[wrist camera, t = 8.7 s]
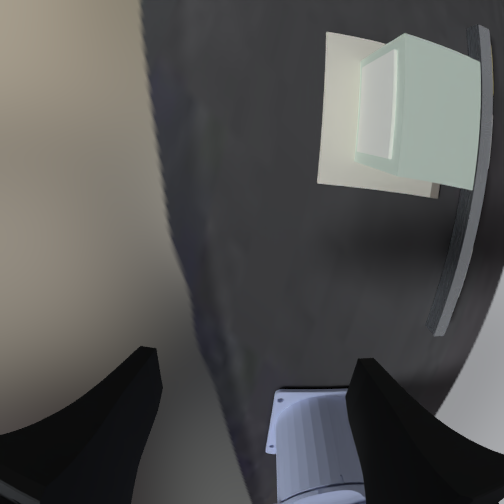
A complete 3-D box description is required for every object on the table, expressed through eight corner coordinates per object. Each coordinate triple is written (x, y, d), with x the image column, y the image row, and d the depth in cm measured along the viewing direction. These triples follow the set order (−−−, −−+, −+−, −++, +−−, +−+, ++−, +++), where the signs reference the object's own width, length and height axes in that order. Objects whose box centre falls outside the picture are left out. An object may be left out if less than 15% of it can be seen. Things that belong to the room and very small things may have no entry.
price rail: (437, 324, 21) (445, 335, 19) (425, 325, 21) (433, 336, 19) (478, 34, 13) (490, 30, 11) (466, 28, 13) (478, 24, 11)
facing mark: (435, 197, 17) (437, 198, 17) (317, 182, 17) (317, 183, 17) (445, 63, 14) (447, 63, 14) (326, 32, 14) (327, 31, 14)
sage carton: (423, 76, 14) (482, 63, 9) (416, 171, 17) (474, 191, 11) (358, 60, 14) (401, 32, 9) (351, 161, 17) (393, 176, 11)
